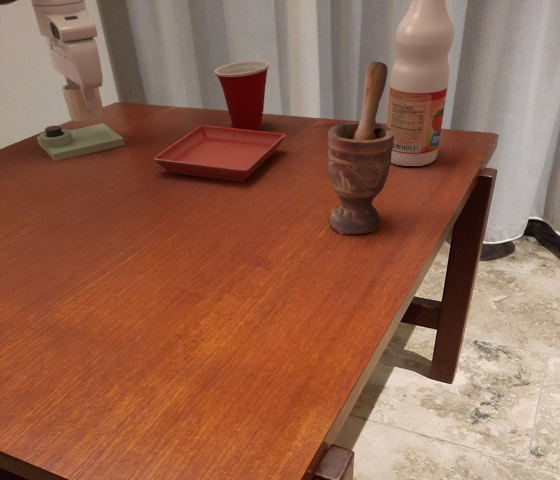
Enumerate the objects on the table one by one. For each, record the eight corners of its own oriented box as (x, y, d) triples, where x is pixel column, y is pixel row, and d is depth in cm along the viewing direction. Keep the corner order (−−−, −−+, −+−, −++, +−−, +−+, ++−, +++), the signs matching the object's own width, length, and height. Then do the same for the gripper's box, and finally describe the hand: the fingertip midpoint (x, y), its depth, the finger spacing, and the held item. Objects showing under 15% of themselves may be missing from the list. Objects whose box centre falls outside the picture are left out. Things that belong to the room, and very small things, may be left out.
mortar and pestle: (325, 202, 87) (327, 59, 74) (380, 201, 86) (393, 58, 73) (326, 237, 78) (330, 82, 65) (388, 236, 78) (404, 80, 65)
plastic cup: (226, 120, 120) (220, 58, 112) (275, 121, 118) (273, 58, 111) (215, 137, 112) (207, 72, 104) (267, 138, 110) (264, 71, 102)
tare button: (49, 139, 106) (47, 131, 105) (45, 135, 108) (43, 127, 107) (65, 136, 108) (62, 128, 107) (60, 132, 110) (58, 124, 109)
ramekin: (76, 123, 106) (67, 92, 102) (66, 115, 110) (58, 85, 106) (108, 116, 108) (101, 86, 105) (97, 109, 113) (90, 79, 109)
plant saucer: (247, 188, 92) (246, 168, 90) (154, 176, 97) (151, 157, 95) (287, 151, 105) (286, 133, 102) (202, 142, 110) (200, 124, 108)
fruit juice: (378, 151, 103) (393, -35, 85) (428, 147, 103) (454, -38, 85) (389, 170, 96) (408, -29, 78) (443, 166, 96) (474, -32, 78)
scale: (52, 162, 105) (47, 145, 103) (36, 144, 112) (31, 129, 110) (125, 145, 110) (121, 129, 108) (104, 129, 118) (101, 115, 116)
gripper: (30, 16, 104) (53, 96, 113) (61, 31, 91) (84, 120, 100) (64, 12, 107) (83, 90, 116) (99, 26, 93) (117, 113, 102)
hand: (84, 104), depth 108 cm, fingers closed on ramekin, 6 cm apart
